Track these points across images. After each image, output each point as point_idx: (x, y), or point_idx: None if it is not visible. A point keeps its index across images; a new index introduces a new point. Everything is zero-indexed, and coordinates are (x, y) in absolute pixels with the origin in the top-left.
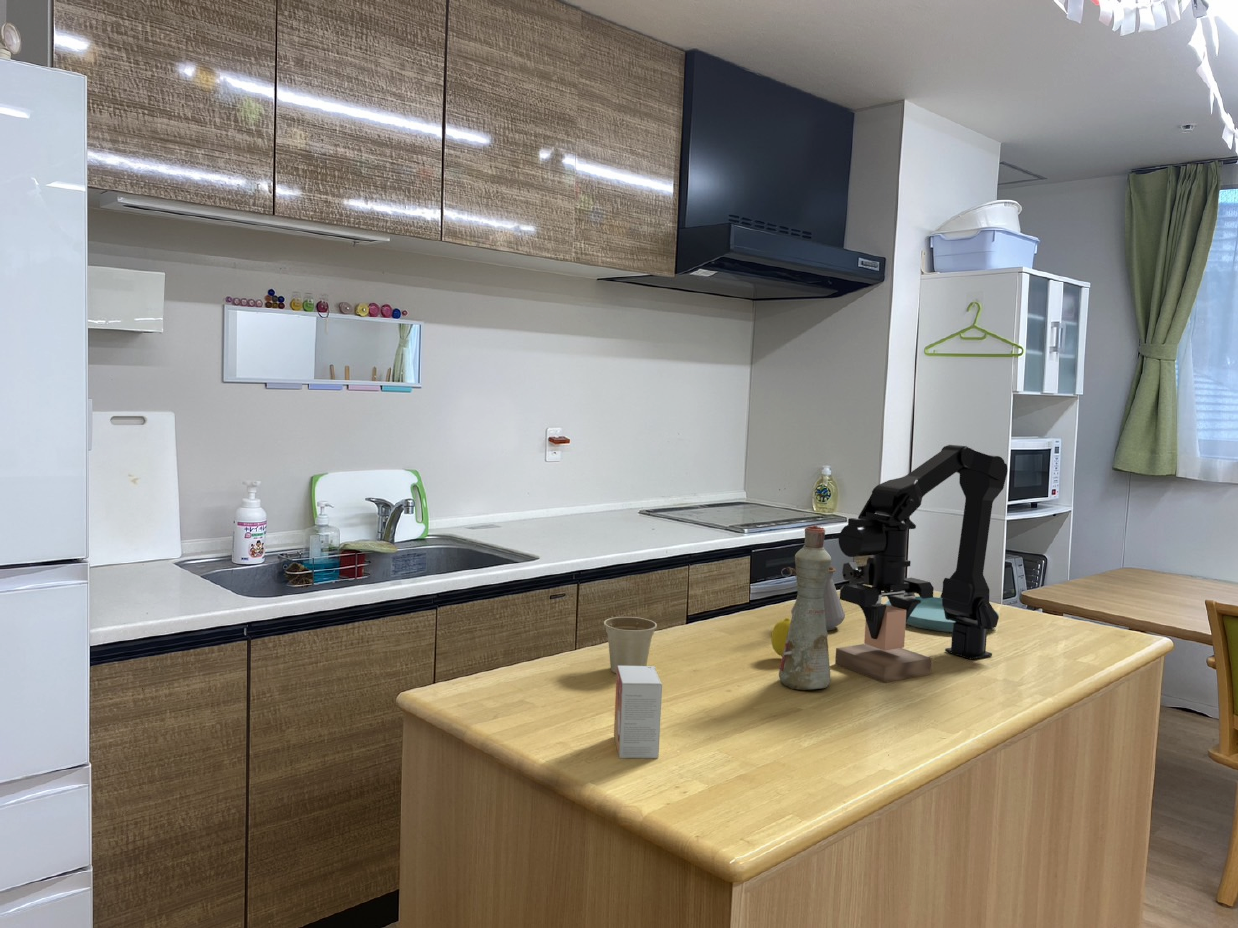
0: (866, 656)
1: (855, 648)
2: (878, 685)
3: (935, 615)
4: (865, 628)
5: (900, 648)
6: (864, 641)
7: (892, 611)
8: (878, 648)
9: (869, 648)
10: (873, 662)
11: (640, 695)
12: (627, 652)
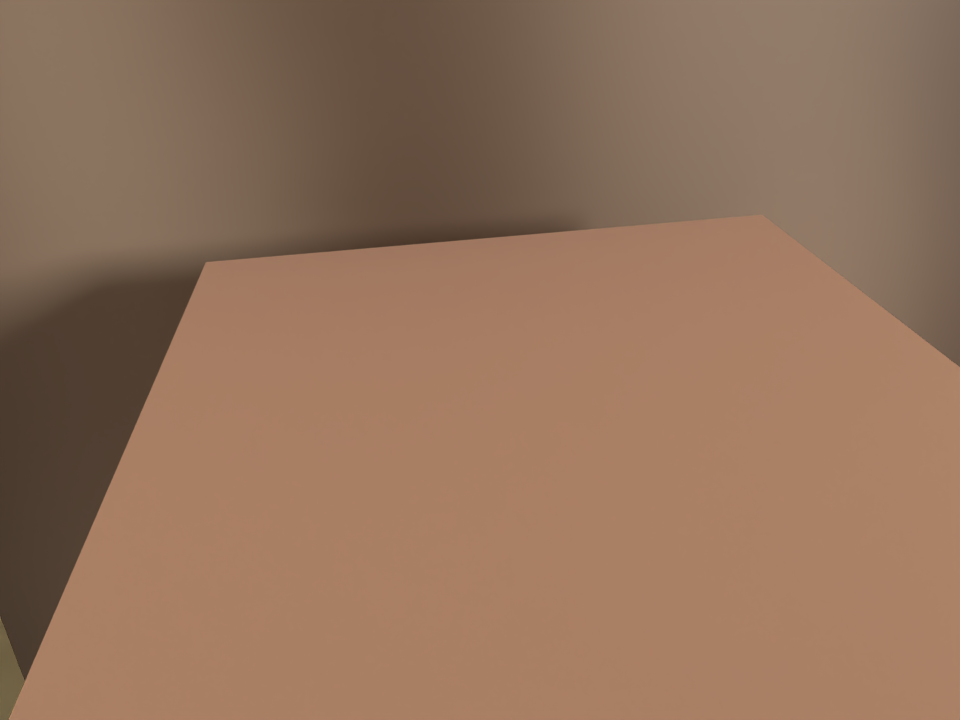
0: (70, 470)
1: (168, 11)
2: (15, 696)
3: None
4: (141, 436)
5: (947, 284)
6: (199, 280)
7: None
8: (611, 167)
9: (453, 108)
10: (26, 669)
11: None
12: None
